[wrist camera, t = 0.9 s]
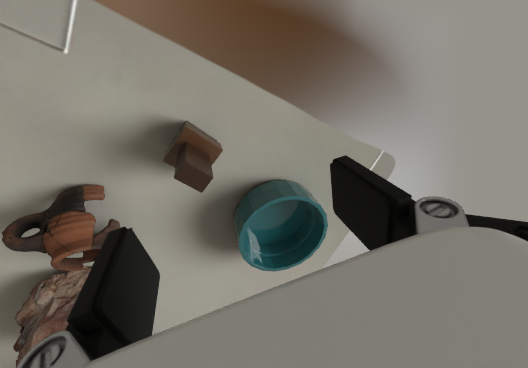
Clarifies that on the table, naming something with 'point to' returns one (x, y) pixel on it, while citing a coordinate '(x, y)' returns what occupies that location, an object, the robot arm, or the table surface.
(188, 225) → the table surface
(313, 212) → the bowl
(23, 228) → the pottery mug
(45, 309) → the mineral specimen
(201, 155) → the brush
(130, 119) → the table surface
